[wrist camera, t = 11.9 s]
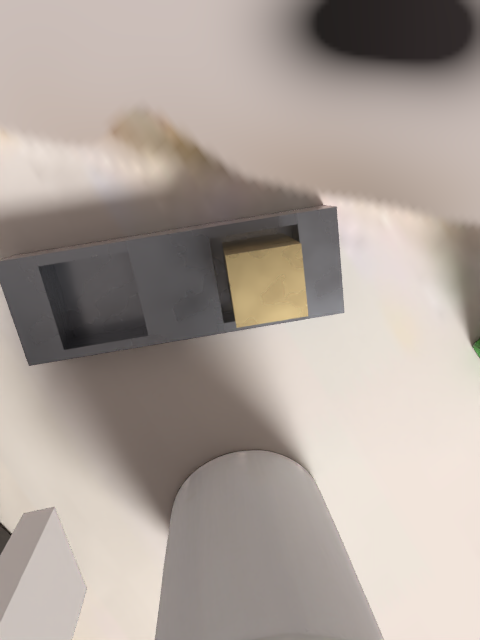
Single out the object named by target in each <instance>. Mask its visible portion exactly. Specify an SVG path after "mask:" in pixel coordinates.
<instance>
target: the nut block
mask: <svg viewBox="0 0 480 640" xmlns="http://www.w3.org/2000/svg"><path fill="white" fill-rule="evenodd" d="M222 247H223V253H224V260H225V266H226V272H227V278H228V285H229V291H230V297H231V303H232V308H233V313H234V317H235V322H236V327H237V328H239V327H245V326H251V325H257V324H263V323H269V322H275V321H282V320H288V319H294V318H300V317H306V316H308V306H307V296H306V286H305V276H304V266H303V256H302V246H301V243H300V242H298V241H296V240H294V239H293V238H291V237H289V236H287V235H285V234H284V233H280V234H274V235H268V236H261V237H255V238H249V239H243V240H236V241H230V242H224V243H222Z"/></svg>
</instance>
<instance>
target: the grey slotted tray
mask: <svg viewBox="0 0 480 640" xmlns="http://www.w3.org/2000/svg"><path fill="white" fill-rule="evenodd" d="M280 233H284V234H285V235H287V236H289V237H291V238H293V239H294V240H296V241H298V242H300V243H301V246H302V256H303V266H304V276H305V286H306V296H307V306H308V316H306V317H300V318H294V319H288V320H282V321H275V322H269V323H263V324H257V325H251V326H245V327H239V328H237V327H236V322H235V317H234V313H233V308H232V303H231V297H230V291H229V285H228V278H227V272H226V266H225V260H224V253H223V247H222V243H224V242H230V241H236V240H243V239H249V238H255V237H261V236H268V235H274V234H280ZM0 283H1V286H2V289H3V292H4V295H5V298H6V301H7V304H8V306H9V309H10V312H11V315H12V318H13V321H14V324H15V327H16V330H17V333H18V335H19V338H20V341H21V344H22V347H23V350H24V353H25V356H26V359H27V362H28V364H29V366H31V365H37V364H43V363H49V362H54V361H60V360H66V359H72V358H78V357H84V356H90V355H96V354H102V353H108V352H114V351H120V350H126V349H132V348H138V347H143V346H149V345H155V344H161V343H167V342H173V341H179V340H185V339H191V338H197V337H203V336H209V335H215V334H221V333H227V332H232V331H238V330H244V329H250V328H256V327H262V326H268V325H274V324H280V323H286V322H292V321H298V320H304V319H310V318H316V317H321V316H327V315H333V314H339V313H344V301H343V288H342V274H341V261H340V247H339V234H338V220H337V207H335V206H327V205H321V206H315V207H309V208H303V209H297V210H291V211H284V212H278V213H272V214H266V215H260V216H253V217H247V218H241V219H235V220H229V221H223V222H216V223H210V224H204V225H198V226H192V227H185V228H179V229H173V230H167V231H161V232H154V233H148V234H142V235H136V236H130V237H124V238H117V239H111V240H105V241H99V242H93V243H86V244H80V245H74V246H68V247H62V248H56V249H49V250H43V251H37V252H31V253H25V254H18V255H14V256H11V257H8V258H5V259H1V260H0Z"/></svg>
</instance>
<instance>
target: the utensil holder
mask: <svg viewBox="0 0 480 640" xmlns="http://www.w3.org/2000/svg"><path fill="white" fill-rule="evenodd" d="M155 640H384V638H383V636H382V634H381V631H380V629H379V627H378V624H377V622H376V619H375V617H374V615H373V612H372V610H371V608H370V605H369V603H368V601H367V598H366V596H365V594H364V591H363V589H362V587H361V584H360V582H359V580H358V577H357V575H356V573H355V570H354V568H353V565H352V563H351V560H350V558H349V556H348V553H347V551H346V549H345V546H344V544H343V542H342V539H341V537H340V535H339V532H338V530H337V528H336V526H335V523H334V521H333V519H332V517H331V514H330V512H329V510H328V508H327V505H326V503H325V501H324V499H323V496H322V494H321V492H320V490H319V488H318V486H317V484H316V482H315V480H314V479H313V478H312V476H311V475H310V474H309V473H308V471H307V470H305V469H304V468H303V467H302V466H301V465H300V464H298V463H297V462H295V461H293V460H292V459H290V458H288V457H285V456H283V455H280V454H277V453H274V452H269V451H263V450H249V451H239V452H234V453H230V454H226V455H223V456H220V457H218V458H215V459H213V460H211V461H209V462H208V463H206V464H204V465H203V466H201V467H200V468H198V469H197V470H196V471H195V472H193V473H192V474H191V475H190V476H189V478H188V479H187V480H186V481H185V482H184V483H183V485H182V486H181V488H180V490H179V491H178V493H177V496H176V498H175V501H174V504H173V508H172V513H171V518H170V526H169V533H168V540H167V547H166V554H165V561H164V569H163V577H162V587H161V595H160V603H159V611H158V619H157V627H156V635H155Z"/></svg>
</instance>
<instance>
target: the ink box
mask: <svg viewBox="0 0 480 640" xmlns="http://www.w3.org/2000/svg"><path fill="white" fill-rule="evenodd" d="M473 348H474V350H475V351H476V353H477V354H478V356H479V357H480V339H479V340H478V341H476V342H475V343H474V345H473Z"/></svg>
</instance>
